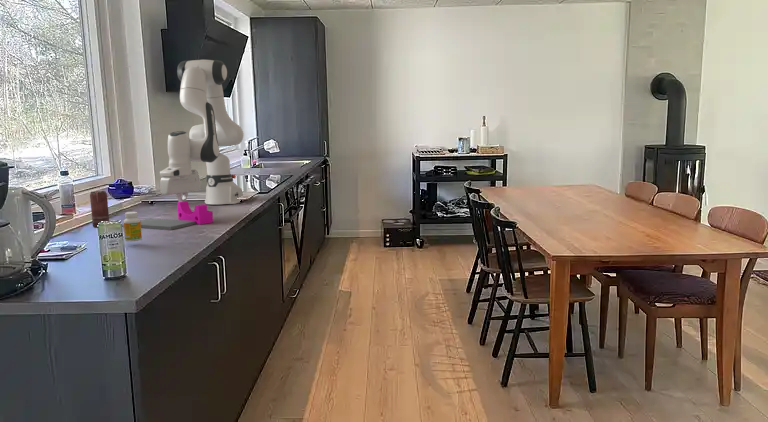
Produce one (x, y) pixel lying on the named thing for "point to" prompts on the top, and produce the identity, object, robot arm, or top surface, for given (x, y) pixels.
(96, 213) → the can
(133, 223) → the supplement bottle
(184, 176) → the robot arm
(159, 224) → the slate pad
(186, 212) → the toy block
